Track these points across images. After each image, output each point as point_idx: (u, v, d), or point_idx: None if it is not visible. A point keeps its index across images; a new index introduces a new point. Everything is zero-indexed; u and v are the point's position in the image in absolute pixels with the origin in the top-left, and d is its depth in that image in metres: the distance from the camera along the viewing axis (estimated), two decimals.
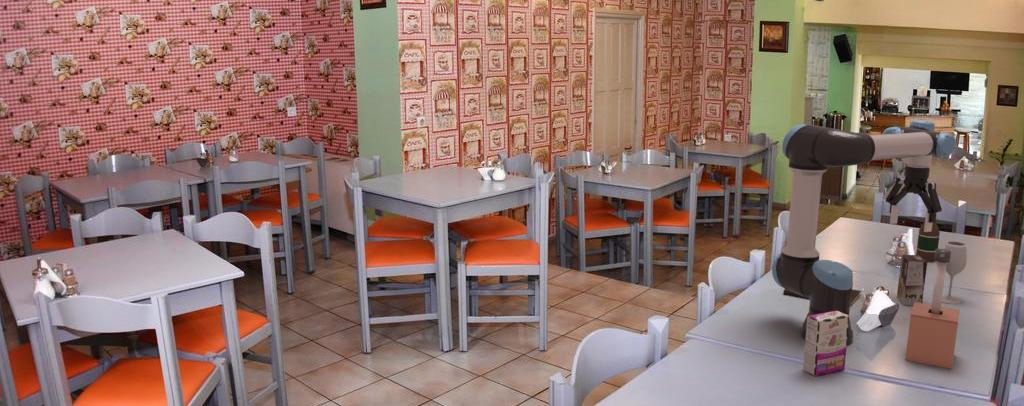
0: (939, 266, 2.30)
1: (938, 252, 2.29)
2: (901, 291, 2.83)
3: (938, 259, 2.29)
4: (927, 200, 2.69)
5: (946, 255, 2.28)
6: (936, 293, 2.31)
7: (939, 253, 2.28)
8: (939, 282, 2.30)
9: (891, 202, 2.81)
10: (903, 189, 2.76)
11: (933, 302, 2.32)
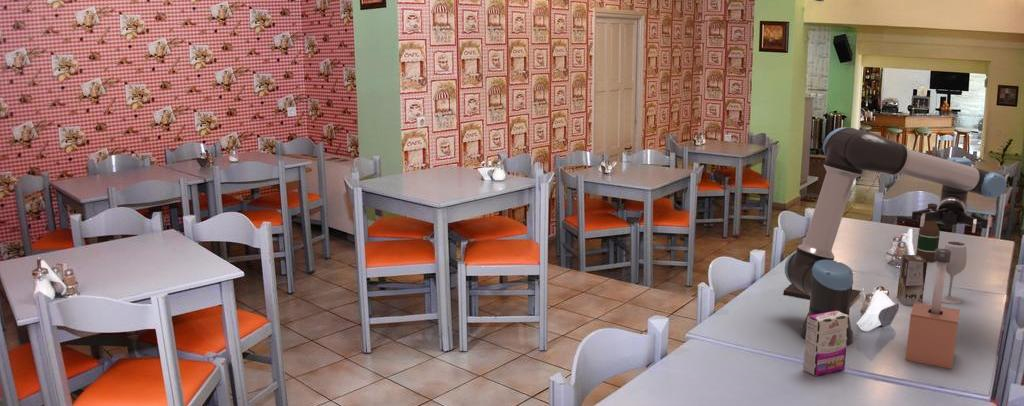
0: (939, 266, 2.30)
1: (938, 252, 2.29)
2: (901, 291, 2.83)
3: (938, 259, 2.29)
4: None
5: (946, 255, 2.28)
6: (936, 293, 2.31)
7: (939, 253, 2.28)
8: (939, 282, 2.30)
9: (921, 213, 2.46)
10: (939, 210, 2.48)
11: (933, 302, 2.32)
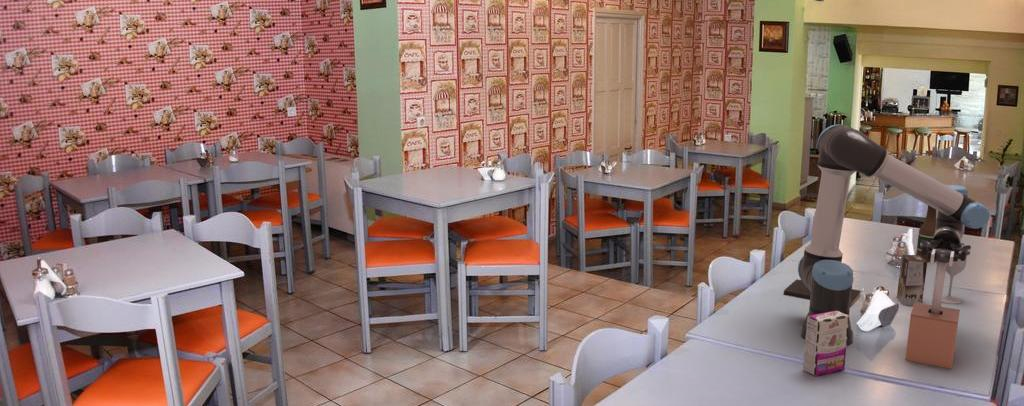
0: (939, 266, 2.30)
1: (938, 252, 2.29)
2: (901, 291, 2.83)
3: (938, 259, 2.29)
4: None
5: (946, 255, 2.28)
6: (936, 293, 2.31)
7: (939, 253, 2.28)
8: (939, 282, 2.30)
9: (931, 248, 2.33)
10: (938, 242, 2.38)
11: (933, 302, 2.32)
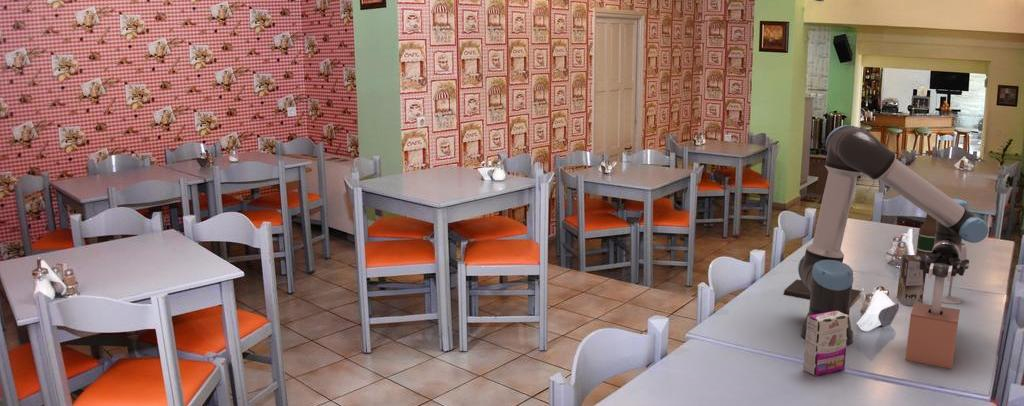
0: (937, 280, 2.31)
1: (936, 267, 2.30)
2: (901, 291, 2.83)
3: (936, 274, 2.30)
4: None
5: (944, 270, 2.29)
6: (934, 307, 2.32)
7: (937, 268, 2.29)
8: (937, 296, 2.31)
9: (929, 262, 2.34)
10: (936, 256, 2.39)
11: None
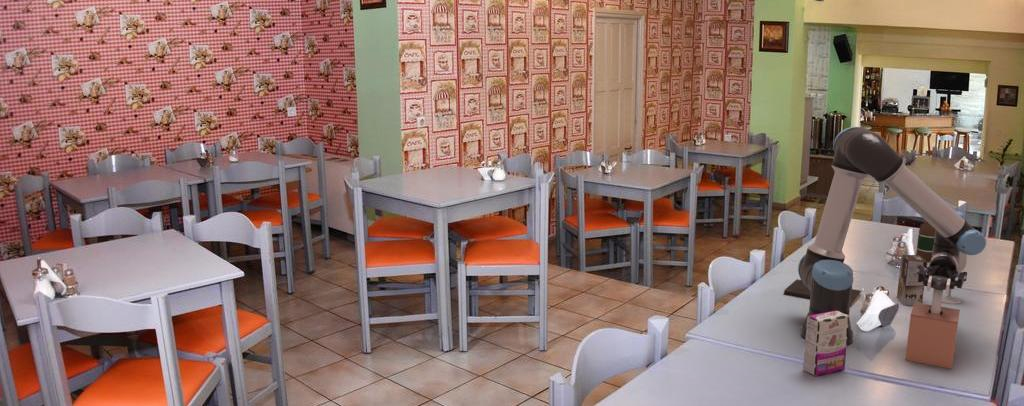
0: (936, 293, 2.31)
1: (935, 279, 2.30)
2: (901, 291, 2.83)
3: (935, 286, 2.31)
4: None
5: (942, 283, 2.29)
6: None
7: (936, 280, 2.30)
8: (936, 309, 2.32)
9: (927, 275, 2.34)
10: (935, 268, 2.39)
11: None
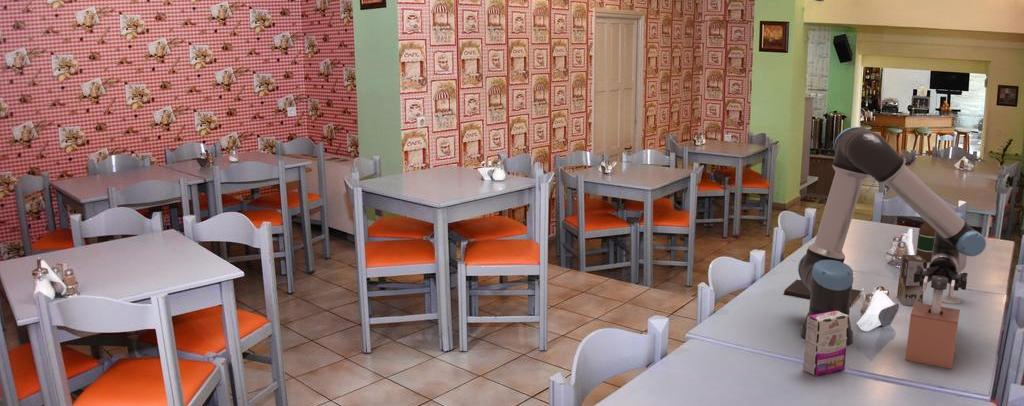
0: (936, 293, 2.31)
1: (935, 279, 2.30)
2: (901, 291, 2.83)
3: (935, 286, 2.31)
4: None
5: (942, 282, 2.29)
6: None
7: (936, 280, 2.30)
8: (936, 309, 2.32)
9: (923, 275, 2.35)
10: (933, 269, 2.40)
11: None
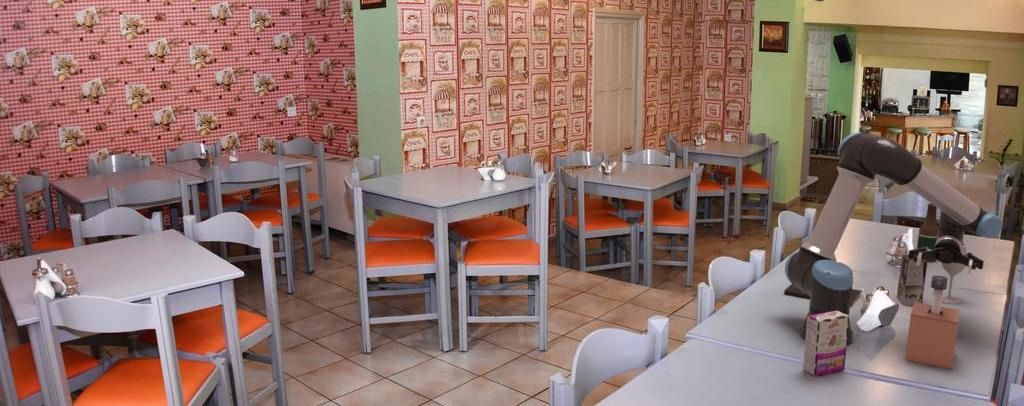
0: (936, 293, 2.31)
1: (935, 279, 2.30)
2: (901, 291, 2.83)
3: (935, 286, 2.31)
4: None
5: (942, 282, 2.29)
6: None
7: (936, 280, 2.30)
8: (936, 309, 2.32)
9: (918, 251, 2.49)
10: (935, 249, 2.51)
11: None
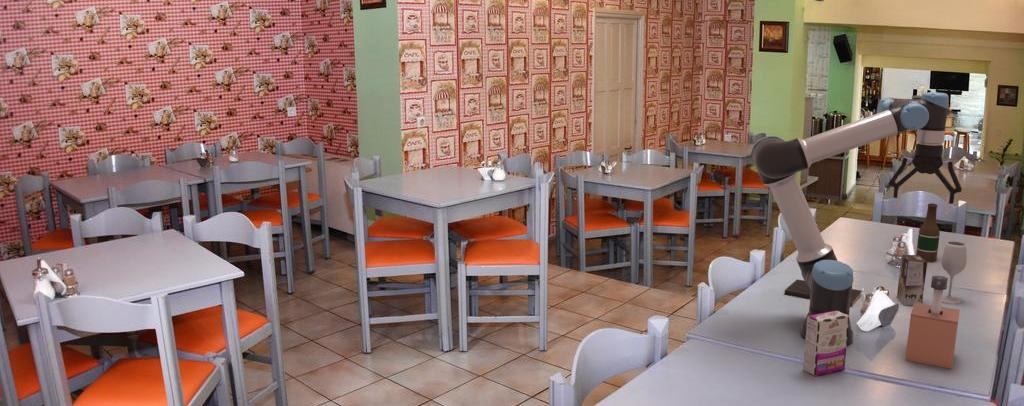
0: (936, 293, 2.31)
1: (935, 279, 2.30)
2: (901, 291, 2.83)
3: (935, 286, 2.31)
4: (946, 180, 2.45)
5: (942, 282, 2.29)
6: None
7: (936, 280, 2.30)
8: (936, 309, 2.32)
9: (897, 185, 2.52)
10: (915, 170, 2.48)
11: None
